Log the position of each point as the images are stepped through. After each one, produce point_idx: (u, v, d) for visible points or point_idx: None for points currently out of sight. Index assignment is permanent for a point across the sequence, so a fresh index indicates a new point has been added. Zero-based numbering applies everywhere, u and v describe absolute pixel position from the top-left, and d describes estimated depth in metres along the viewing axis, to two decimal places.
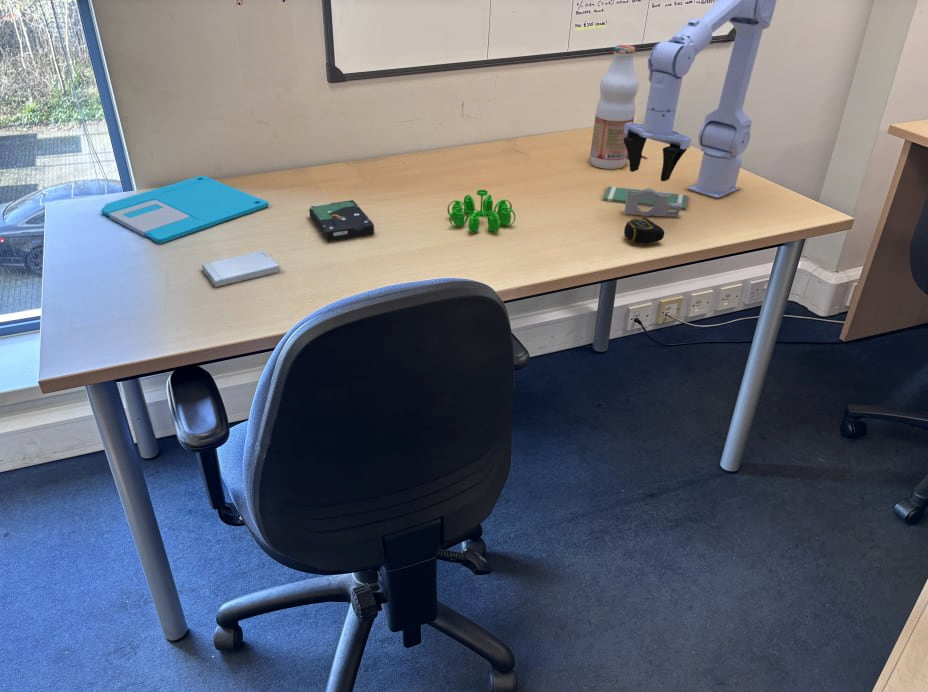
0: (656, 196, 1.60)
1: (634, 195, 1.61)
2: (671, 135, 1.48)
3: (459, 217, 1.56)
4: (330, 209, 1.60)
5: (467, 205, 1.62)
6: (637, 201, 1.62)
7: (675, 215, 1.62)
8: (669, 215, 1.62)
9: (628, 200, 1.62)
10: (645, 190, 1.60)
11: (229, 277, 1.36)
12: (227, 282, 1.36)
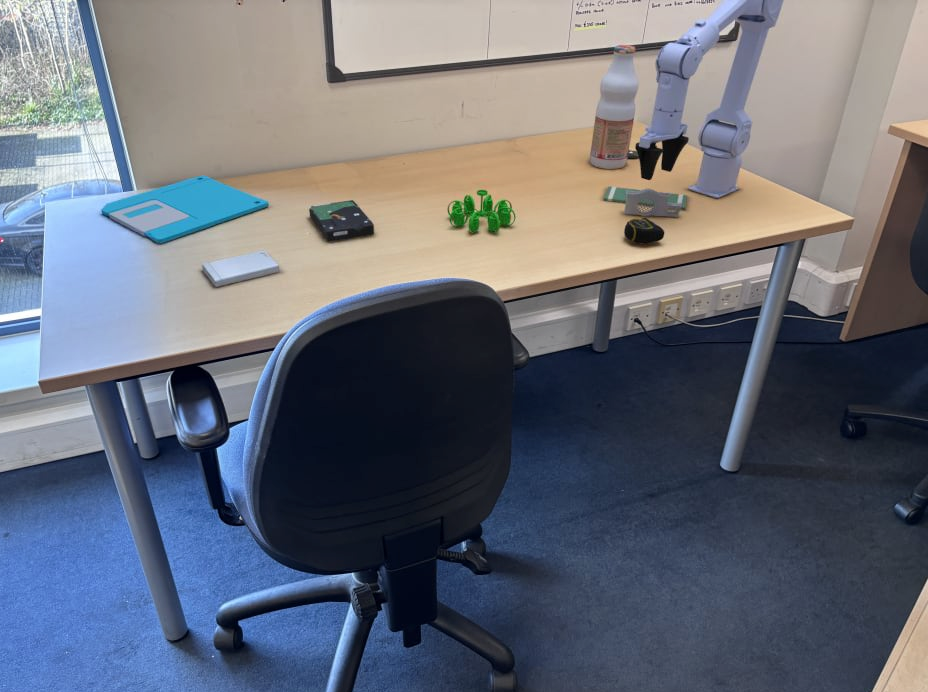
0: (656, 196, 1.60)
1: (634, 195, 1.61)
2: None
3: (459, 217, 1.56)
4: (330, 209, 1.60)
5: (467, 205, 1.62)
6: (637, 201, 1.62)
7: (675, 215, 1.62)
8: (669, 215, 1.62)
9: (628, 200, 1.62)
10: (645, 190, 1.60)
11: (229, 277, 1.36)
12: (227, 282, 1.36)
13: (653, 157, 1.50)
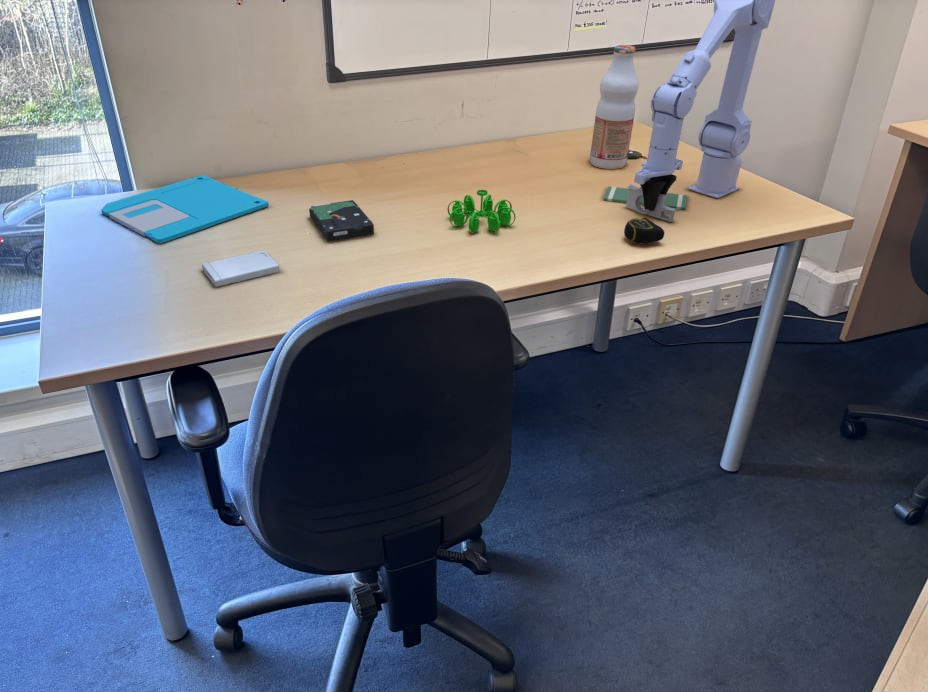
0: None
1: (634, 189, 1.64)
2: None
3: (459, 217, 1.56)
4: (330, 209, 1.60)
5: (467, 205, 1.62)
6: (636, 197, 1.64)
7: (667, 219, 1.60)
8: (662, 218, 1.61)
9: (629, 194, 1.65)
10: None
11: (229, 277, 1.36)
12: (227, 282, 1.36)
13: (655, 190, 1.57)
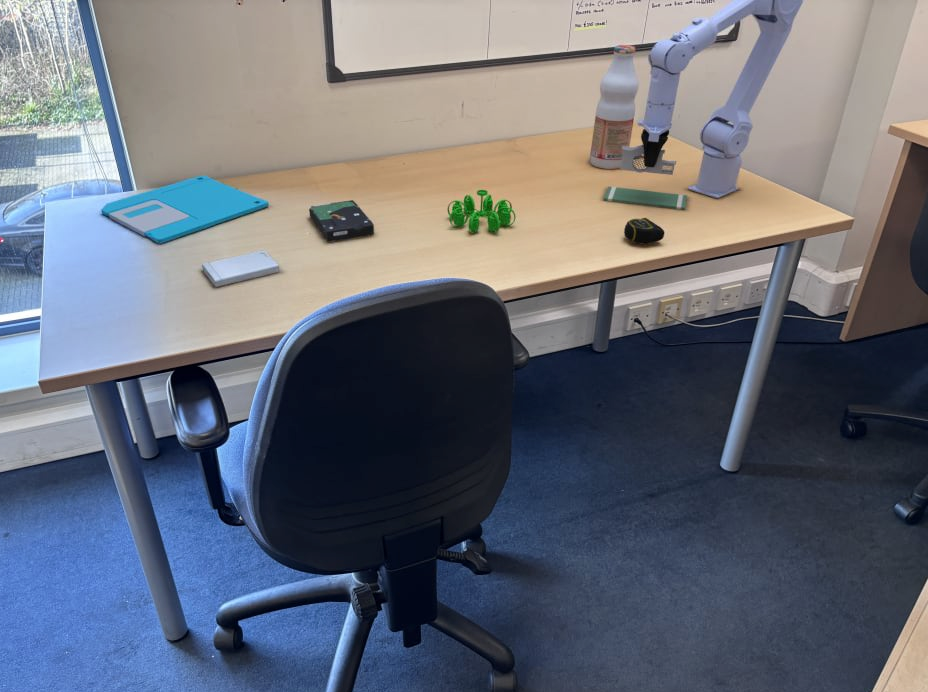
0: None
1: (629, 150, 1.65)
2: (655, 128, 1.58)
3: (459, 217, 1.56)
4: (330, 209, 1.60)
5: (467, 205, 1.62)
6: (632, 157, 1.65)
7: (670, 173, 1.65)
8: (664, 172, 1.65)
9: (623, 156, 1.66)
10: (640, 146, 1.64)
11: (229, 277, 1.36)
12: (227, 282, 1.36)
13: (661, 145, 1.60)
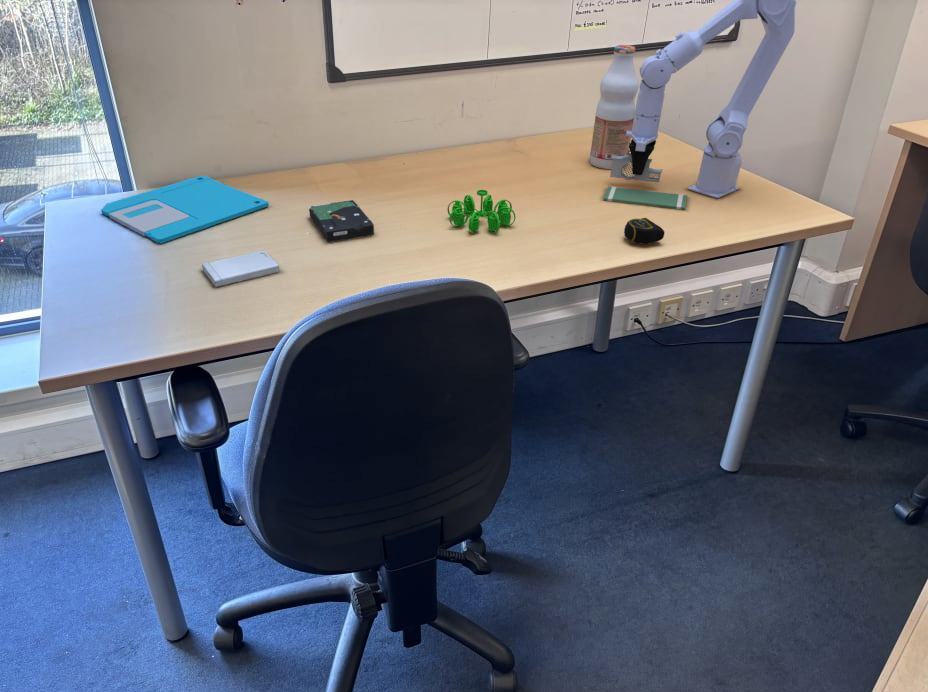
0: None
1: (618, 159, 1.75)
2: (642, 138, 1.68)
3: (459, 217, 1.56)
4: (330, 209, 1.60)
5: (467, 205, 1.62)
6: (621, 165, 1.76)
7: (656, 180, 1.75)
8: (651, 180, 1.75)
9: (613, 164, 1.76)
10: (629, 155, 1.74)
11: (229, 277, 1.36)
12: (227, 282, 1.36)
13: (648, 155, 1.70)
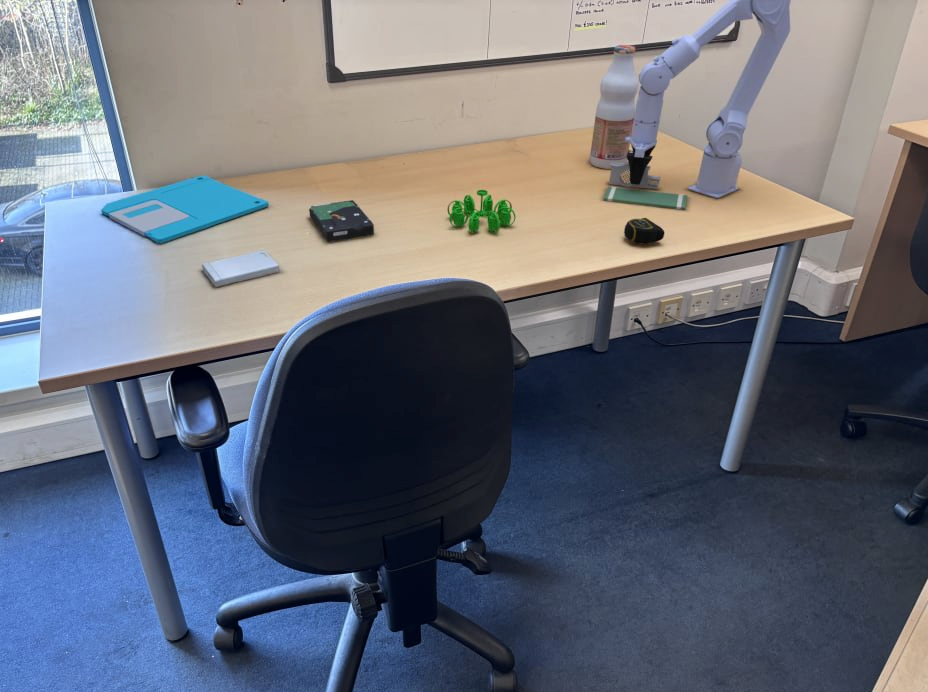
0: None
1: (617, 166, 1.76)
2: (641, 144, 1.69)
3: (459, 217, 1.56)
4: (330, 209, 1.60)
5: (467, 205, 1.62)
6: (620, 172, 1.77)
7: (655, 187, 1.76)
8: (649, 187, 1.76)
9: (612, 171, 1.77)
10: (627, 162, 1.75)
11: (229, 277, 1.36)
12: (227, 282, 1.36)
13: (646, 164, 1.69)
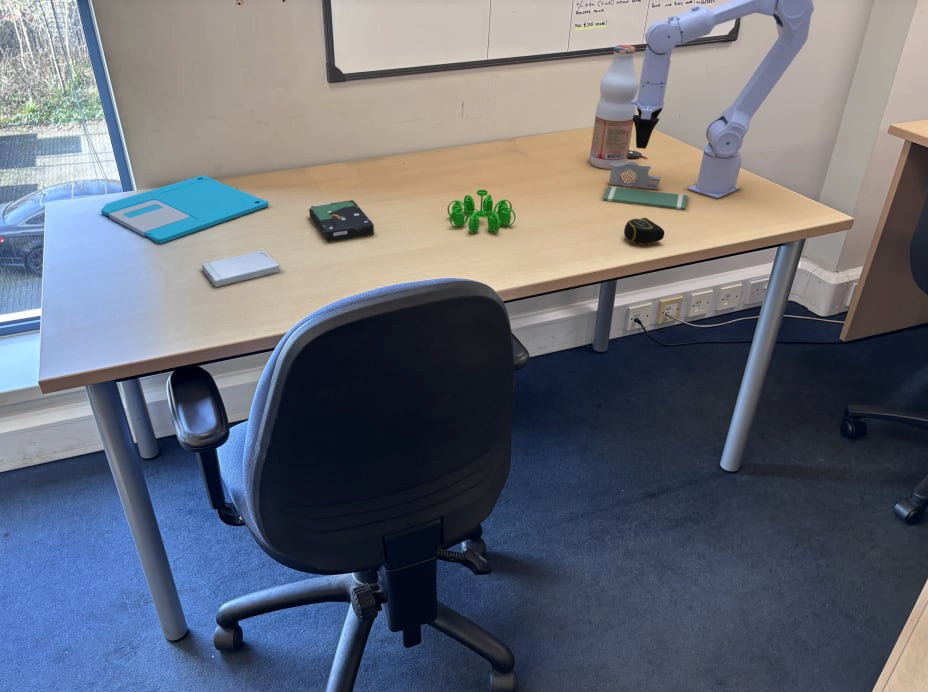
0: (637, 169, 1.75)
1: (617, 166, 1.76)
2: (647, 106, 1.64)
3: (459, 217, 1.56)
4: (330, 209, 1.60)
5: (467, 205, 1.62)
6: (620, 172, 1.77)
7: (655, 187, 1.76)
8: (649, 187, 1.76)
9: (612, 171, 1.77)
10: (627, 162, 1.75)
11: (229, 277, 1.36)
12: (227, 282, 1.36)
13: (652, 127, 1.64)
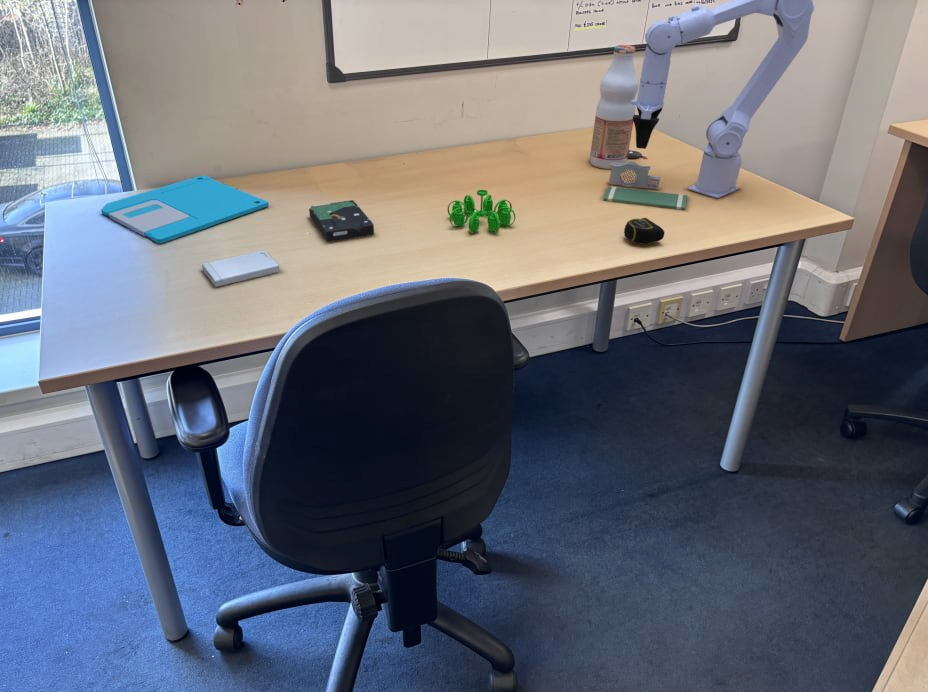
0: (637, 169, 1.75)
1: (617, 166, 1.76)
2: (647, 106, 1.64)
3: (459, 217, 1.56)
4: (330, 209, 1.60)
5: (467, 205, 1.62)
6: (620, 172, 1.77)
7: (655, 187, 1.76)
8: (649, 187, 1.76)
9: (612, 171, 1.77)
10: (627, 162, 1.75)
11: (229, 277, 1.36)
12: (227, 282, 1.36)
13: (652, 127, 1.64)
